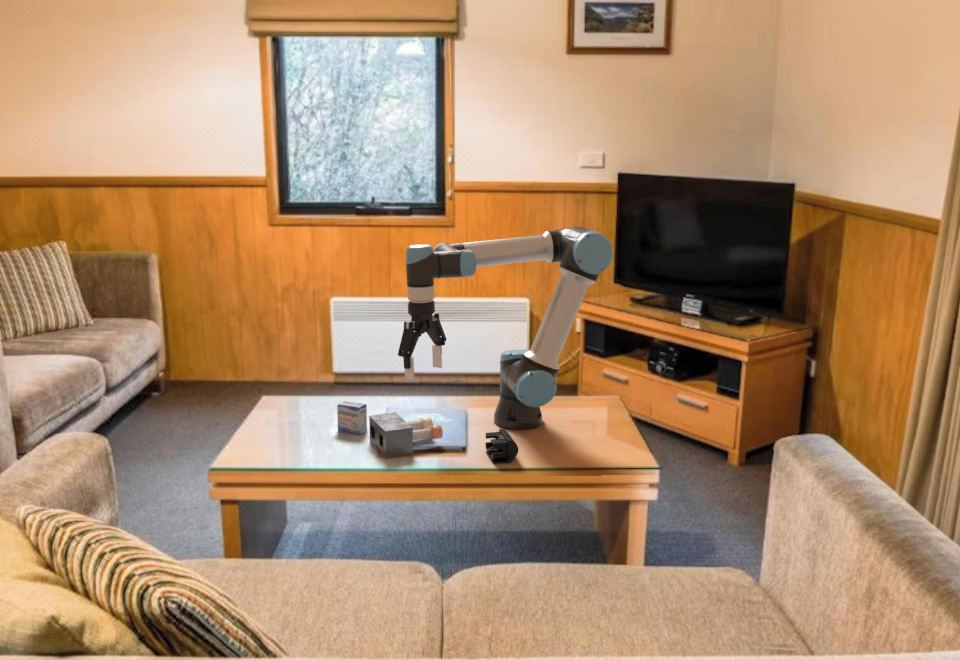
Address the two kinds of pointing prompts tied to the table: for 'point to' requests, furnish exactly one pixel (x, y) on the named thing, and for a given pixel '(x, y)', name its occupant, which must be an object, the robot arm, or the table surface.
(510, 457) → the end cap
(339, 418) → the medicine box
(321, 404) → the table surface
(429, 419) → the knob
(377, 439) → the grey peg holder block
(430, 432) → the knob
